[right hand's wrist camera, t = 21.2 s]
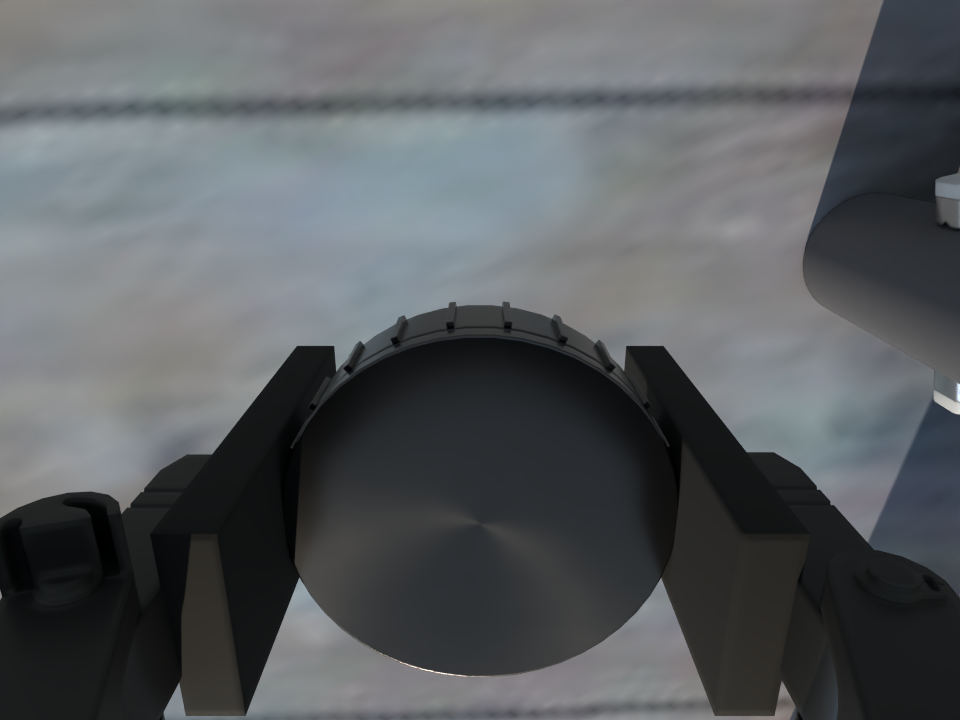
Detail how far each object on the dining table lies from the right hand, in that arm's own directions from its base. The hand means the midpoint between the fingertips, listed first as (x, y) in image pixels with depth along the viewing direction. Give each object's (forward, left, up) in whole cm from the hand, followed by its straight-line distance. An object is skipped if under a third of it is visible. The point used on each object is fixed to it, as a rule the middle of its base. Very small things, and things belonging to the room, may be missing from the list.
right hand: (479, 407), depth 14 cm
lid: (0, 0, +4) cm, 4 cm away
